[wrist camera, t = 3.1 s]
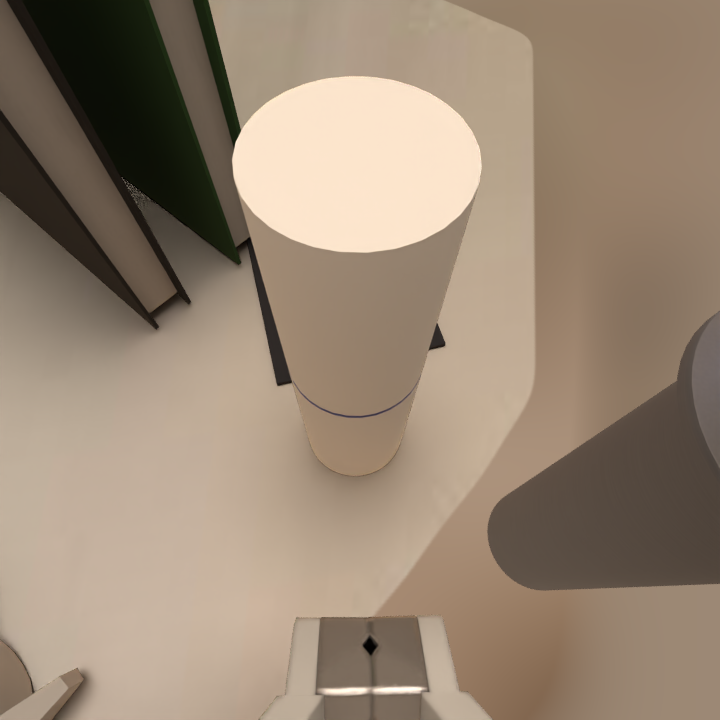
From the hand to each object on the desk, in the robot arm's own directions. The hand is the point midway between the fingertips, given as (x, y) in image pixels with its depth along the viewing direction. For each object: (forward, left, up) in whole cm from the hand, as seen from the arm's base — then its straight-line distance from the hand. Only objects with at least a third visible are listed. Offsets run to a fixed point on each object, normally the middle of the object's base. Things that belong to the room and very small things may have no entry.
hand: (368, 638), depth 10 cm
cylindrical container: (-3, -12, -23) cm, 26 cm away
